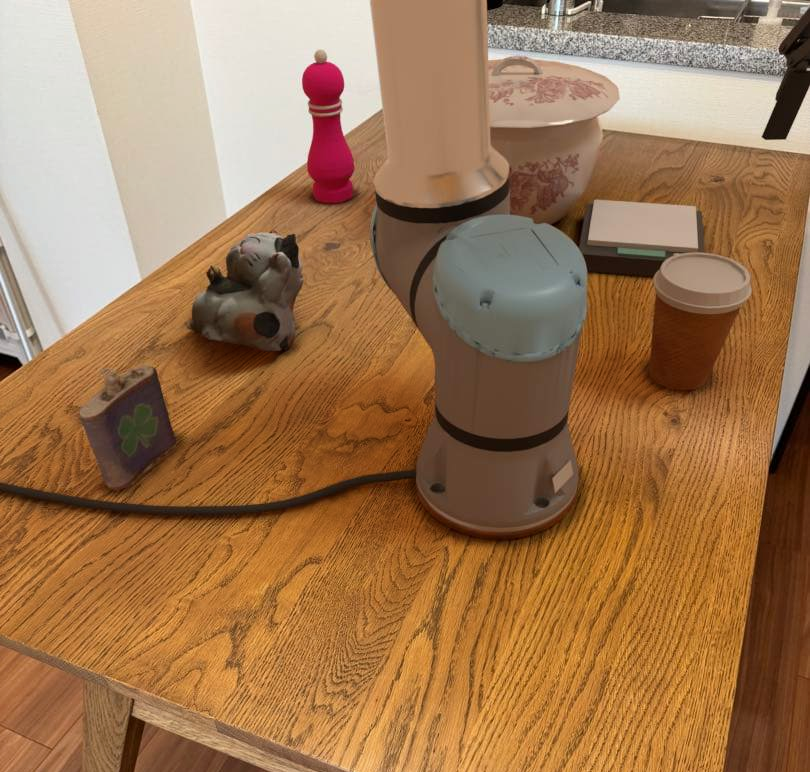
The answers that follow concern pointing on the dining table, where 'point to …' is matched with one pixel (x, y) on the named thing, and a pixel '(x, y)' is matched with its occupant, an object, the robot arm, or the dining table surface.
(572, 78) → the chamber pot
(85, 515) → the dining table surface
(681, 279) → the disposable coffee cup
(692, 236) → the kitchen scale
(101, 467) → the flask
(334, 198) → the pepper mill
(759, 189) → the dining table surface
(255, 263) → the lucky cat figurine
